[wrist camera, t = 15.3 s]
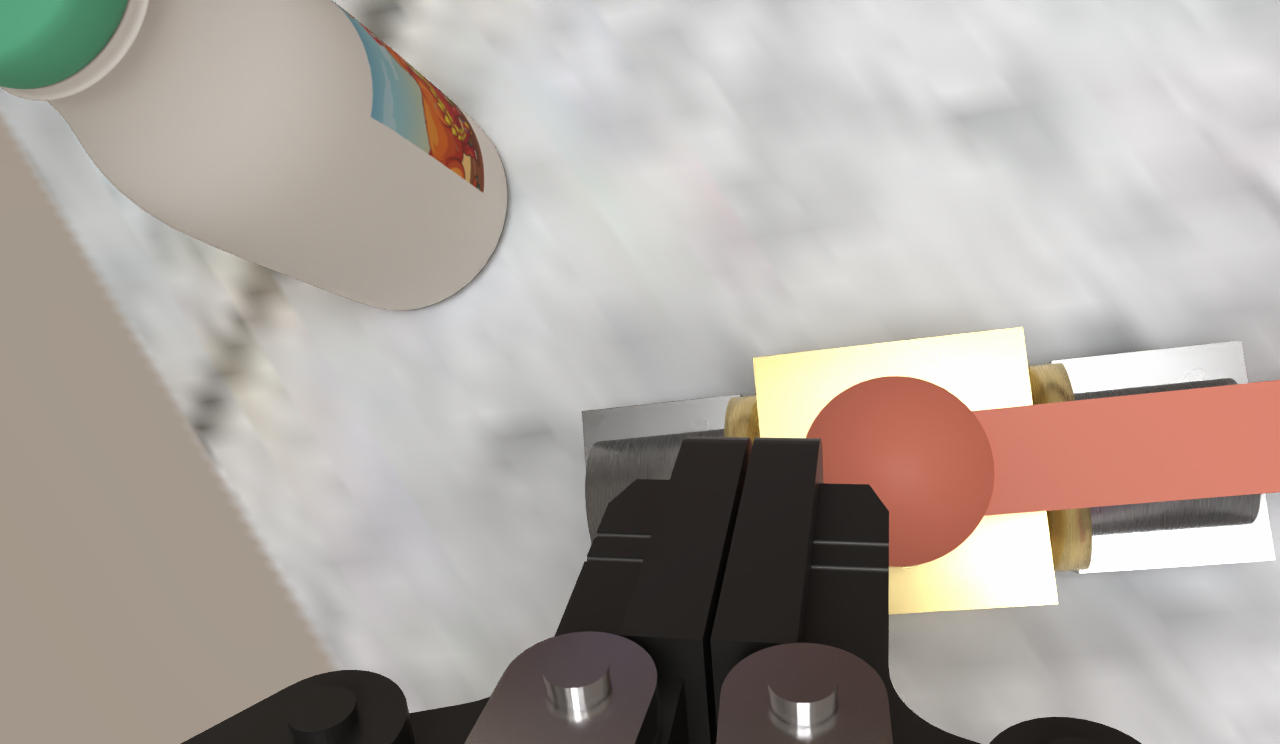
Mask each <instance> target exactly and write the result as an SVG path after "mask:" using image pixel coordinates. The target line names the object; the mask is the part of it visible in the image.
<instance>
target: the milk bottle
mask: <svg viewBox="0 0 1280 744" xmlns="http://www.w3.org/2000/svg"><path fill="white" fill-rule="evenodd" d="M0 87H1V88H2V89H4V90H6V91H7V92H9V93H11V94H13V95H16V96H18V97H22V98H25V99H31V100H41V101H48V102H49V103H50V104H51V105H52V106H53V107H54V108H55V109H56V110H57V111H58V112H59V113H60V114H61V115H62V116H63V118H64V119H65V120H66V122H67V123H68V124H69V126H70V127H71V129H72V130H73V132H74V133H75V135H76V137H77V138H78V140H79V142H80V143H81V145H82V146H83V148H84V149H85V151H86V152H87V154H88V155H89V156H90V158H91V159H92V161H93V162H94V163H95V165H96V166H97V167H98V168H99V170H100V171H101V172H102V173H103V174H104V175H105V176H106V178H107V179H108V180H109V181H110V182H111V183H112V184H113V185H114V186H115V187H116V188H117V189H118V190H119V191H120V192H121V193H123V194H124V195H125V196H126V197H127V198H129V199H130V200H131V201H132V202H133V203H135V204H136V205H137V206H139V207H140V208H141V209H143V210H144V211H146V212H147V213H149V214H150V215H152V216H154V217H155V218H157V219H159V220H160V221H162V222H163V223H165V224H167V225H169V226H170V227H172V228H174V229H176V230H179V231H181V232H183V233H185V234H187V235H190V236H192V237H194V238H196V239H198V240H201V241H203V242H205V243H207V244H209V245H212V246H214V247H216V248H218V249H221V250H223V251H226V252H228V253H231V254H234V255H236V256H239V257H241V258H244V259H246V260H249V261H251V262H254V263H256V264H259V265H261V266H264V267H266V268H269V269H271V270H274V271H277V272H279V273H282V274H284V275H287V276H290V277H292V278H295V279H298V280H300V281H303V282H306V283H308V284H311V285H313V286H316V287H319V288H321V289H324V290H327V291H329V292H332V293H335V294H337V295H340V296H343V297H346V298H348V299H351V300H354V301H357V302H360V303H363V304H366V305H370V306H373V307H376V308H381V309H386V310H412V309H418V308H423V307H427V306H430V305H433V304H435V303H438V302H440V301H442V300H444V299H446V298H448V297H450V296H451V295H453V294H455V293H456V292H457V291H459V290H460V289H462V288H463V287H464V286H465V285H467V284H468V283H469V282H470V281H472V279H473V278H474V277H475V276H476V275H477V274H478V273H479V272H480V270H481V269H482V268H483V267H484V266H485V265H486V263H487V261H488V259H489V258H490V256H491V255H492V253H493V251H494V250H495V248H496V246H497V243H498V240H499V238H500V235H501V233H502V230H503V225H504V221H505V216H506V209H507V184H506V177H505V173H504V169H503V165H502V162H501V159H500V157H499V155H498V152H497V150H496V148H495V146H494V145H493V143H492V142H491V140H490V139H489V137H488V136H487V135H486V133H485V132H484V131H483V130H482V129H481V128H480V127H479V126H478V125H477V124H476V123H475V122H474V121H473V120H472V119H471V118H470V117H469V116H468V115H467V114H466V113H465V112H464V111H463V110H461V109H460V108H459V107H458V106H457V105H456V104H455V103H453V102H452V101H451V100H450V99H449V98H448V97H447V96H445V95H444V94H443V93H442V92H441V91H440V90H439V89H437V88H436V87H435V86H434V85H433V84H432V83H430V82H429V81H428V80H427V79H426V78H425V77H424V76H422V75H421V74H420V73H419V72H418V71H417V70H415V69H414V68H413V67H412V66H411V65H410V64H409V63H407V62H406V61H405V60H404V59H403V58H402V57H400V56H399V55H398V54H397V53H396V52H394V51H393V50H392V49H391V48H390V47H388V46H387V45H386V44H385V43H384V42H383V41H381V40H380V39H379V38H378V37H377V36H375V35H374V34H373V33H372V32H371V31H369V30H368V29H367V28H366V27H365V26H364V25H362V24H361V23H360V22H359V21H358V20H356V19H355V18H354V17H353V16H352V15H350V14H349V13H348V12H347V11H345V10H344V9H343V8H341V7H340V6H339V5H337V4H336V3H335V2H333V1H332V0H0Z"/></svg>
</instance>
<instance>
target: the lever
mask: <svg viewBox="0 0 1280 744" xmlns="http://www.w3.org/2000/svg"><path fill="white" fill-rule="evenodd" d="M806 438H821V440H822V451H823V483H830V484H869V485H870V486H871V488H872V489H873V490H874V492H875V493H876V494H877V496H878V497H879V498H880V500H881V501H882V502H883V504H884V505H885V507H886V508H887V509H888V511H889V566H891V567H907V566H915V565H920V564H924V563H927V562H931V561H933V560H936V559H938V558H941V557H943V556H945V555H946V554H948V553H950V552H951V551H953V550H955V549H956V548H957V547H958V546H960V545H961V544H962V543H963V542H964V541H965V540H966V539H967V538H968V537H969V536H970V535H971V534H972V533H973V532H974V531H975V529H976V528H977V526H978V525H979V524H980V522H981V520H982V518H983V517H984V516H990V515H1002V514H1015V513H1027V512H1039V511H1052V510H1064V509H1077V508H1089V507H1101V506H1114V505H1126V504H1138V503H1151V502H1163V501H1176V500H1188V499H1200V498H1213V497H1225V496H1238V495H1250V494H1262V493H1275V492H1280V380H1275V381H1265V382H1255V383H1245V384H1235V385H1225V386H1216V387H1206V388H1196V389H1186V390H1176V391H1166V392H1156V393H1146V394H1136V395H1126V396H1116V397H1106V398H1096V399H1086V400H1076V401H1066V402H1056V403H1047V404H1037V405H1027V406H1017V407H1007V408H997V409H987V410H977V411H971V410H970V409H969V408H968V407H967V406H966V405H965V404H964V403H963V402H962V401H961V400H960V399H959V398H957V397H956V396H955V395H953V394H952V393H950V392H949V391H947V390H946V389H944V388H942V387H940V386H938V385H936V384H934V383H931V382H928V381H925V380H922V379H917V378H913V377H904V376H885V377H879V378H873V379H870V380H866V381H863V382H860V383H858V384H856V385H853V386H851V387H849V388H847V389H846V390H844V391H843V392H841V393H839V394H838V395H837V396H836V397H834V398H833V399H832V400H831V401H830V402H828V404H827V405H826V406H825V407H824V408H823V409H822V410H821V411H820V413H819V414H818V415H817V417H816V418H815V419H814V421H813V423H812V425H811V427H810V428H809V430H808V432H807V435H806Z"/></svg>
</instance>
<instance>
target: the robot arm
mask: <svg viewBox="0 0 1280 744" xmlns="http://www.w3.org/2000/svg"><path fill="white" fill-rule="evenodd" d="M888 639H889V511H888V509H887V508H886V507H885V505H884V504H883V502H882V501H881V500H880V498H879V497H878V496H877V494H876V493H875V492H874V490H873V489H872V488H871V486H870V485H869V484H830V483H823V451H822V440H821V438H768V437H755V438H754V441H753V445H752V441H751V438H750V437H696V436H686V437H684V439H683V441H682V444H681V447H680V450H679V453H678V456H677V459H676V462H675V465H674V468H673V471H672V474H671V477H670V480H659V479H636V480H635V481H634V482H633V483H631V484H630V485H629V486H628V487H627V488H626V489H624V490H623V491H622V492H621V493H620V494H619V495H617V496H616V497H615V498H614V499H613V500H612V501H611V502H609V503H608V505H607V508H606V510H605V513H604V515H603V518H602V520H601V523H600V525H599V528H598V530H597V538H594V540H593V543H592V545H591V548H590V550H589V553H588V555H587V562H584V565H583V567H582V570H581V572H580V575H579V577H578V580H577V582H576V585H575V587H574V590H573V592H572V595H571V597H570V600H569V602H568V605H567V607H566V610H565V612H564V615H563V617H562V619H561V622H560V624H559V627H558V629H557V632H556V634H555V637H552V638H549V639H547V640H544V641H542V642H539V643H537V644H535V645H534V646H532V647H530V648H528V649H527V650H525V651H524V652H523V653H521V654H520V655H519V656H517V657H516V658H515V659H514V660H513V661H512V662H511V663H510V665H509V666H508V667H507V669H506V670H505V672H504V673H503V675H502V677H501V679H500V680H499V682H498V684H497V686H496V688H495V689H494V691H493V693H492V695H491V697H488V698H485V699H482V700H479V701H475V702H470V703H466V704H461V705H455V706H450V707H444V708H438V709H432V710H426V711H421V712H415V713H409V711H408V706H407V702H406V698H405V696H404V694H403V692H402V690H401V689H400V688H399V687H398V685H397V684H396V683H394V682H393V681H391V680H390V679H389V678H387V677H384V676H382V675H380V674H377V673H373V672H369V671H360V670H341V671H334V672H328V673H324V674H319V675H315V676H313V677H310V678H307V679H304V680H301V681H299V682H297V683H295V684H293V685H291V686H289V687H287V688H285V689H283V690H281V691H279V692H278V693H276V694H274V695H272V696H270V697H268V698H266V699H264V700H262V701H260V702H259V703H257V704H255V705H253V706H251V707H249V708H247V709H246V710H243V711H242V712H240V713H238V714H236V715H234V716H232V717H230V718H229V719H227V720H225V721H223V722H221V723H219V724H217V725H215V726H214V727H212V728H210V729H208V730H206V731H204V732H202V733H200V734H198V735H196V736H194V737H193V738H191V739H189V740H187V741H185V742H183V743H181V744H980V743H977V742H974V741H970V740H967V739H964V738H961V737H958V736H955V735H953V734H950V733H947V732H945V731H943V730H941V729H939V728H937V727H935V726H933V725H931V724H929V723H928V722H926V721H925V720H923V719H922V718H920V717H919V716H917V715H916V714H915V713H914V712H913V711H912V710H910V709H909V708H908V707H907V706H906V705H905V704H904V702H903V701H902V700H901V699H900V698H899V696H898V694H897V693H896V691H895V689H894V688H893V685H892V682H891V680H890V677H889V668H888ZM990 744H1141V743H1140V742H1138V741H1137V740H1135V739H1134V738H1132V737H1131V736H1129V735H1127V734H1125V733H1123V732H1121V731H1119V730H1116V729H1114V728H1111V727H1108V726H1106V725H1103V724H1100V723H1096V722H1092V721H1088V720H1083V719H1076V718H1069V717H1047V718H1037V719H1033V720H1028V721H1024V722H1021V723H1019V724H1016V725H1013V726H1011V727H1009V728H1008V729H1006V730H1004V731H1003V732H1001V733H1000V734H999V735H997V736H996V737H995V738H994V739H993V740H992V741H991V742H990Z"/></svg>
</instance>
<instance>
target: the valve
mask: <svg viewBox="0 0 1280 744" xmlns="http://www.w3.org/2000/svg"><path fill="white" fill-rule="evenodd" d="M753 366H754V376H755V387H756V395H753V396H744V397H743V396H742V395H740V394H738V395H728V396H719V397H710V398H700V399H691V400H682V401H672V402H663V403H654V404H644V405H635V406H626V407H616V408H607V409H598V410H588V411H582V419H583V433H584V447H585V461H586V484H585V494H586V511H587V520H588V527H589V532H590V537H591V544H592V543H593V540H594V538H597V530H598V528H599V525H600V523H601V520H602V518H603V515H604V513H605V510H606V508H607V505H608V503H609V502H611V501H612V500H613V499H614V498H615V497H616V496H617V495H619V494H620V493H621V492H622V491H623V490H624V489H626V488H627V487H628V486H629V485H630V484H631V483H633V482H634V481H635V480H636V479H659V480H670V477H671V474H672V471H673V468H674V465H675V462H676V459H677V456H678V453H679V450H680V447H681V444H682V441H683V439H684V437H686V436H696V437H750V438H751V441H752V445H753V441H754V438H755V437H768V438H806V435H807V432H808V430H809V428H810V427H811V425H812V423H813V421H814V419H815V418H816V417H817V415H818V414H819V413H820V411H821V410H822V409H823V408H824V407H825V406H826V405H827V404H828V402H830V401H831V400H832V399H833V398H834V397H836V396H837V395H838V394H839V393H841V392H843V391H844V390H846V389H847V388H849V387H851V386H853V385H856V384H858V383H860V382H863V381H866V380H870V379H873V378H879V377H885V376H904V377H913V378H917V379H922V380H925V381H928V382H931V383H934V384H936V385H938V386H940V387H942V388H944V389H946V390H947V391H949V392H950V393H952V394H953V395H955V396H956V397H957V398H959V399H960V400H961V401H962V402H963V403H964V404H965V405H966V406H967V407H968V408H969V409H970V410H971V411H977V410H987V409H997V408H1007V407H1017V406H1027V405H1037V404H1047V403H1056V402H1066V401H1076V400H1086V399H1096V398H1106V397H1116V396H1126V395H1136V394H1146V393H1156V392H1166V391H1176V390H1186V389H1196V388H1206V387H1216V386H1225V385H1235V384H1245V383H1248V379H1247V373H1246V367H1245V360H1244V354H1243V347H1242V341H1232V342H1223V343H1214V344H1204V345H1195V346H1186V347H1176V348H1167V349H1158V350H1148V351H1139V352H1130V353H1120V354H1111V355H1102V356H1092V357H1083V358H1074V359H1064V360H1055V361H1051V362H1050V363H1049V364H1044V365H1035V366H1028V363H1027V356H1026V348H1025V340H1024V332H1023V327H1018V328H1009V329H1000V330H991V331H983V332H974V333H965V334H956V335H948V336H939V337H930V338H921V339H913V340H904V341H895V342H886V343H877V344H869V345H860V346H851V347H842V348H834V349H825V350H816V351H807V352H799V353H790V354H781V355H772V356H763V357H755V358H753ZM1273 560H1275V554H1274V547H1273V541H1272V535H1271V528H1270V522H1269V515H1268V509H1267V502H1266V496H1265V493H1262V494H1250V495H1238V496H1225V497H1213V498H1200V499H1188V500H1176V501H1163V502H1151V503H1138V504H1126V505H1114V506H1101V507H1089V508H1077V509H1064V510H1052V511H1039V512H1027V513H1015V514H1002V515H990V516H984V517H983V518H982V520H981V522H980V524H979V525H978V526H977V528H976V529H975V531H974V532H973V533H972V534H971V535H970V536H969V537H968V538H967V539H966V540H965V541H964V542H963V543H962V544H961V545H960V546H958V547H957V548H956V549H955V550H953V551H951V552H950V553H948V554H946V555H945V556H943V557H941V558H938V559H936V560H933V561H931V562H927V563H924V564H920V565H915V566H907V567H891V566H889V614H904V613H920V612H936V611H952V610H968V609H984V608H1000V607H1017V606H1033V605H1049V604H1058V598H1057V590H1056V582H1055V575H1054V572H1056V571H1074V572H1076V573H1079V574H1081V573H1095V572H1110V571H1125V570H1140V569H1155V568H1169V567H1184V566H1199V565H1214V564H1229V563H1244V562H1258V561H1273Z"/></svg>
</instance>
